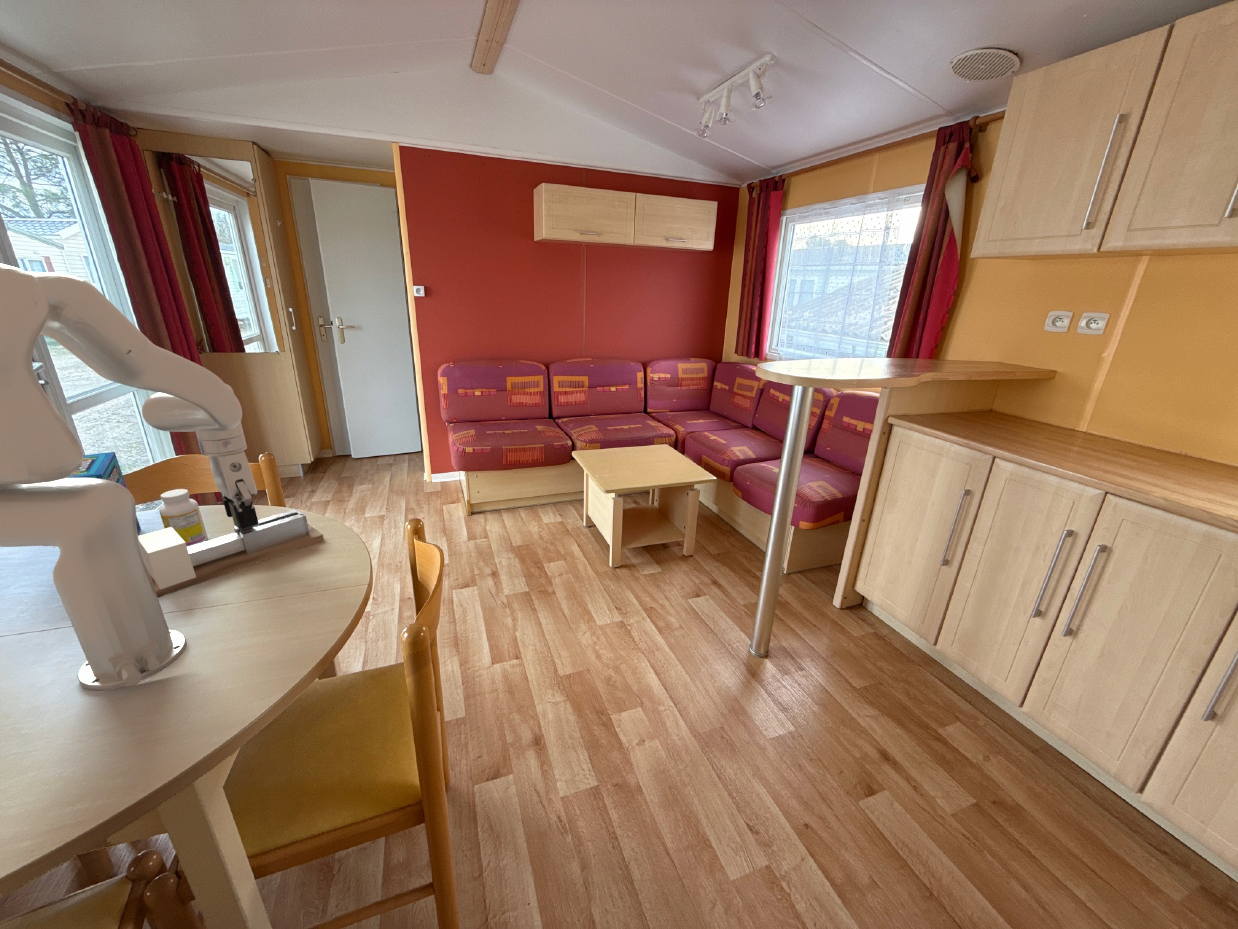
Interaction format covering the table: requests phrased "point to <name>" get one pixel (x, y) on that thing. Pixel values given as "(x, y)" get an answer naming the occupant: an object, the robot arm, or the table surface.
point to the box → (102, 470)
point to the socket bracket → (166, 557)
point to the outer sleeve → (274, 531)
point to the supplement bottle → (183, 516)
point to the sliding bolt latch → (218, 544)
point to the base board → (239, 562)
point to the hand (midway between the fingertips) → (242, 520)
